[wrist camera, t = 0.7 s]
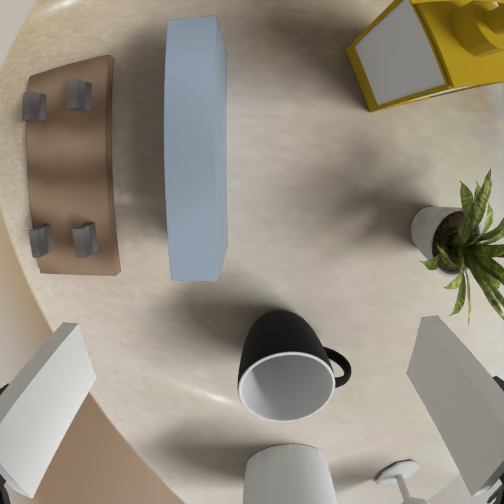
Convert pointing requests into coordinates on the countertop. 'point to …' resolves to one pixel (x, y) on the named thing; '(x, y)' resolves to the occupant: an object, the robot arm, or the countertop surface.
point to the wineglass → (401, 479)
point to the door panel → (195, 148)
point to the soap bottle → (429, 50)
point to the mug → (287, 369)
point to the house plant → (463, 244)
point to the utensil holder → (288, 476)
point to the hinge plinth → (72, 168)
